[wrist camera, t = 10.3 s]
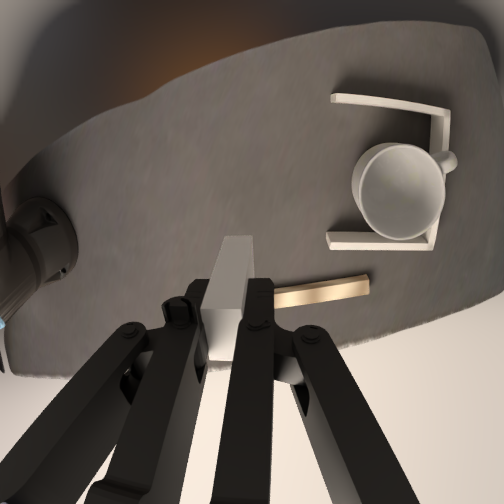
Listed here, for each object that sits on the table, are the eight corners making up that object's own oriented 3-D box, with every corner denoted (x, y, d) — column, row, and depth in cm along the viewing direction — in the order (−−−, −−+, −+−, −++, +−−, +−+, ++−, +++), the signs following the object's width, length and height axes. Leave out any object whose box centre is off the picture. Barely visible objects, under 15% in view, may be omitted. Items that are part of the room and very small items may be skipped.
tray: (326, 238, 40) (330, 249, 37) (330, 94, 32) (336, 93, 29) (422, 239, 39) (432, 250, 36) (437, 108, 31) (450, 110, 28)
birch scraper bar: (219, 309, 47) (217, 315, 46) (214, 296, 46) (213, 302, 45) (366, 288, 43) (369, 293, 42) (366, 274, 42) (369, 279, 41)
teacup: (357, 227, 39) (374, 254, 32) (331, 152, 35) (346, 163, 28) (442, 194, 36) (472, 214, 29) (424, 120, 32) (456, 126, 25)
